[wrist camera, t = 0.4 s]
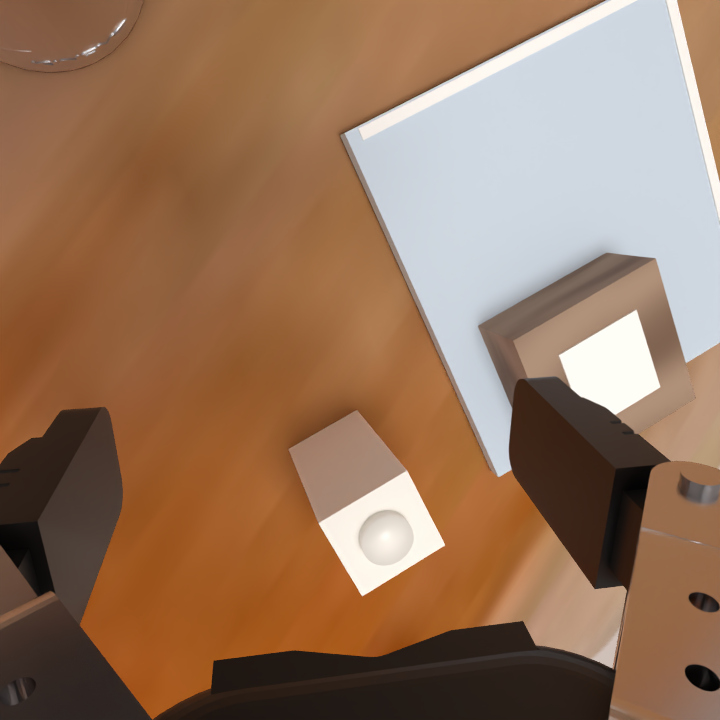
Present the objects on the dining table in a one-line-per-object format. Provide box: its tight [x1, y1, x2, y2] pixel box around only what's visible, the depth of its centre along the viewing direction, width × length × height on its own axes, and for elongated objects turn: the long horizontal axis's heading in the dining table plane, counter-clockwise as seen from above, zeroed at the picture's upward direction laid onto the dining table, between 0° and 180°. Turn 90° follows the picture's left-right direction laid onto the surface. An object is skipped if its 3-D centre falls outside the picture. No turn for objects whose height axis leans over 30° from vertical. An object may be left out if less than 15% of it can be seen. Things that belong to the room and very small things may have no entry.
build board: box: [340, 0, 720, 477], centre depth 33 cm, size 22×20×5 cm
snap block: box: [288, 410, 445, 596], centre depth 31 cm, size 4×4×9 cm
